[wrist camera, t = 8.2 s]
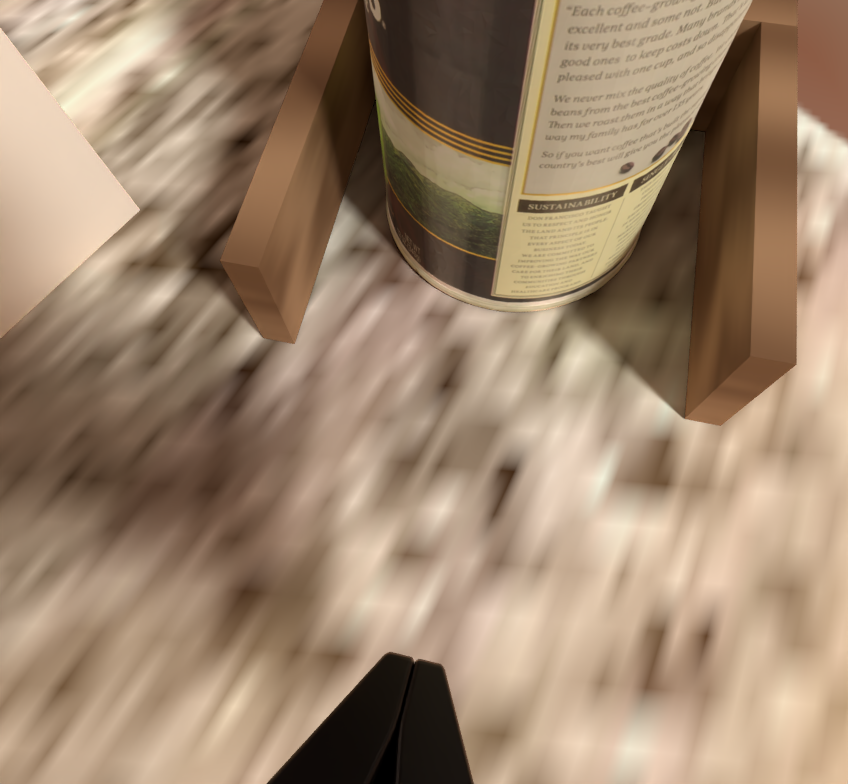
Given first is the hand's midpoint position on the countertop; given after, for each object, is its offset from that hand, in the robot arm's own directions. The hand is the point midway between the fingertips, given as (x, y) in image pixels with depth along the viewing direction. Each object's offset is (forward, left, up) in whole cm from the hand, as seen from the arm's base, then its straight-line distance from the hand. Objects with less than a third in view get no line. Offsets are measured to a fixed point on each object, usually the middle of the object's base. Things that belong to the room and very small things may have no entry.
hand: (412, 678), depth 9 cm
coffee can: (+12, +12, -11) cm, 21 cm away
